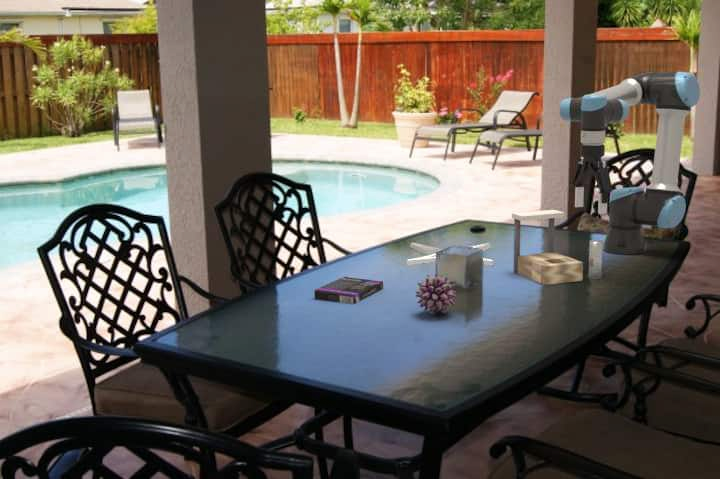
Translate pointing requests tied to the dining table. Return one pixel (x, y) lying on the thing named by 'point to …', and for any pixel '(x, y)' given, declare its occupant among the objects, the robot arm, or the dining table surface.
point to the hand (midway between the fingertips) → (590, 210)
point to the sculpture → (432, 251)
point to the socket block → (550, 268)
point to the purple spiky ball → (435, 293)
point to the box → (348, 290)
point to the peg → (595, 259)
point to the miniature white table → (534, 216)
